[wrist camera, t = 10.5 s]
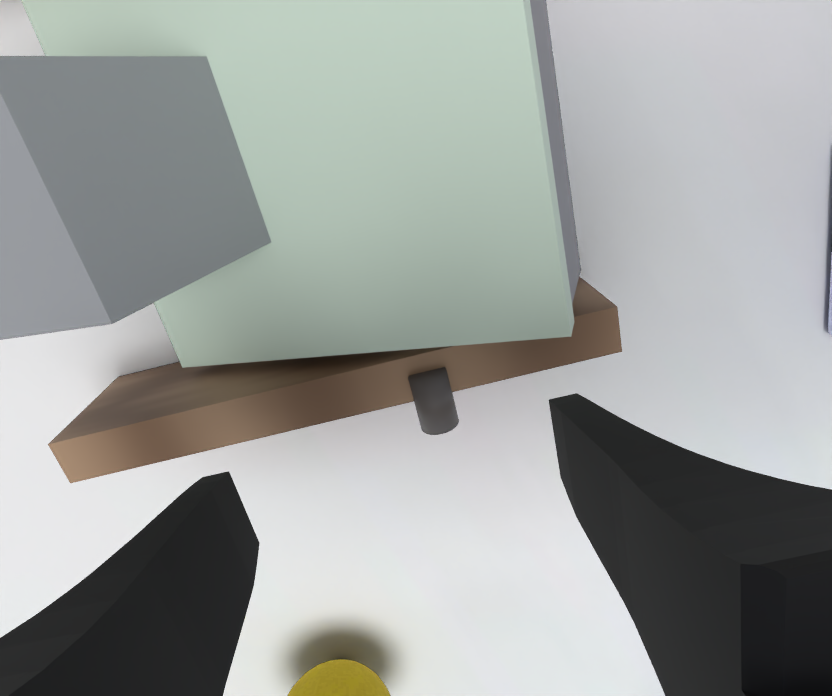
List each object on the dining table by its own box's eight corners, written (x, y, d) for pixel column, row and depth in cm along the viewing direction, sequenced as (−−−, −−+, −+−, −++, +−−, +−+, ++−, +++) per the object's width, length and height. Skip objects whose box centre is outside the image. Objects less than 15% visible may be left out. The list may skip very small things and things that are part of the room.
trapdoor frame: (495, -250, 16) (552, -441, 10) (574, 324, 22) (635, 388, 17) (-106, -80, 16) (-342, -176, 11) (143, 428, 23) (70, 521, 18)
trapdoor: (522, -183, 14) (485, -261, 10) (582, 284, 18) (571, 336, 15) (123, -4, 19) (13, -17, 16) (247, 322, 23) (182, 367, 20)
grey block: (206, 56, 15) (-18, 55, 10) (271, 242, 16) (112, 323, 11) (76, 105, 17) (-166, 126, 12) (147, 266, 18) (-35, 344, 13)
